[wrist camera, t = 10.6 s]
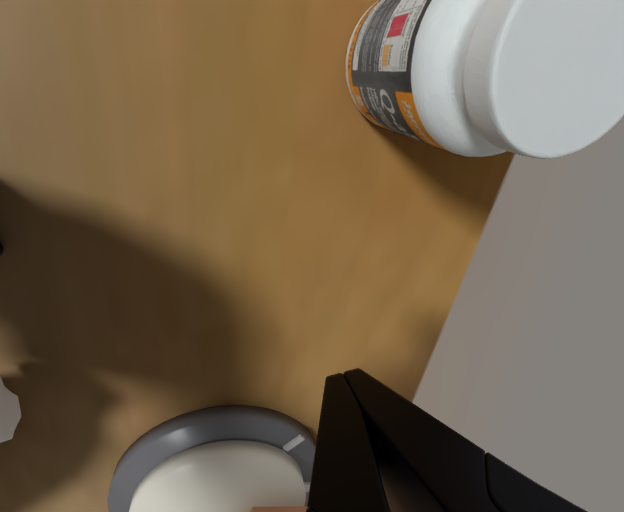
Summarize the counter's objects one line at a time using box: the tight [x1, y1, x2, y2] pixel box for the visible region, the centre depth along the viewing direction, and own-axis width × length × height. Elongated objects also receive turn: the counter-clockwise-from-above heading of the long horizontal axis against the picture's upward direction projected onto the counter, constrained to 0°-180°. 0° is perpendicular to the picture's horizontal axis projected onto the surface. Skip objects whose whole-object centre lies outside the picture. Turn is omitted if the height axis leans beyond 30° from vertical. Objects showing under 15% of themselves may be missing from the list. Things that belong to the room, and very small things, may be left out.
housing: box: [108, 406, 316, 512], centre depth 27 cm, size 15×15×1 cm
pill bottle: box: [346, 0, 624, 159], centre depth 13 cm, size 6×6×10 cm
